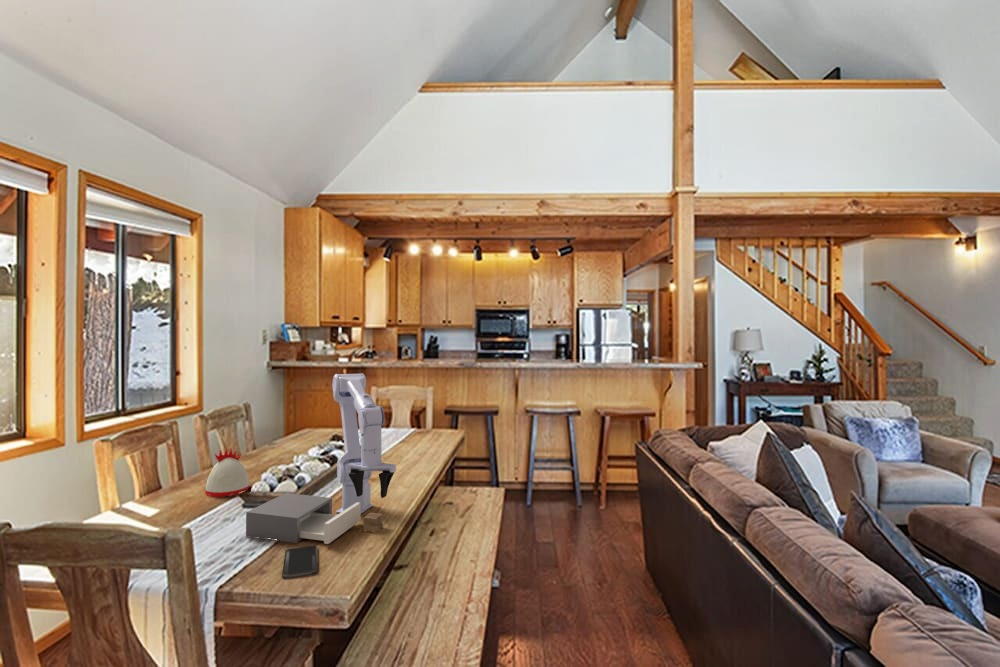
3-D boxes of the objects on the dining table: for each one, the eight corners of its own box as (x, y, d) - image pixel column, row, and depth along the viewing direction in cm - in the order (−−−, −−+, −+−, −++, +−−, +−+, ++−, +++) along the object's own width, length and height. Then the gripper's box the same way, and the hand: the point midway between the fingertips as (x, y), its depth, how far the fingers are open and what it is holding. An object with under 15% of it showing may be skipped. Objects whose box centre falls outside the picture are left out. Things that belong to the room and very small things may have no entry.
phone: (281, 576, 117) (285, 549, 131) (281, 581, 117) (285, 553, 131) (318, 571, 120) (317, 545, 134) (317, 575, 120) (317, 549, 134)
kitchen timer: (205, 487, 182) (206, 446, 181) (248, 482, 188) (249, 442, 188) (205, 499, 169) (205, 454, 169) (250, 493, 176) (251, 450, 176)
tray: (360, 520, 151) (360, 502, 151) (328, 544, 134) (328, 523, 134) (312, 515, 155) (313, 497, 155) (276, 537, 138) (276, 517, 138)
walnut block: (370, 526, 150) (370, 512, 150) (382, 527, 149) (382, 514, 149) (363, 531, 146) (363, 517, 146) (376, 532, 145) (376, 518, 145)
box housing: (331, 520, 153) (332, 497, 153) (296, 543, 137) (297, 518, 137) (285, 514, 157) (285, 493, 157) (245, 536, 140) (246, 512, 140)
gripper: (341, 450, 145) (341, 498, 144) (388, 452, 142) (388, 501, 141) (354, 446, 152) (354, 492, 151) (398, 447, 149) (399, 494, 148)
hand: (371, 496), depth 147 cm, fingers open, 7 cm apart
